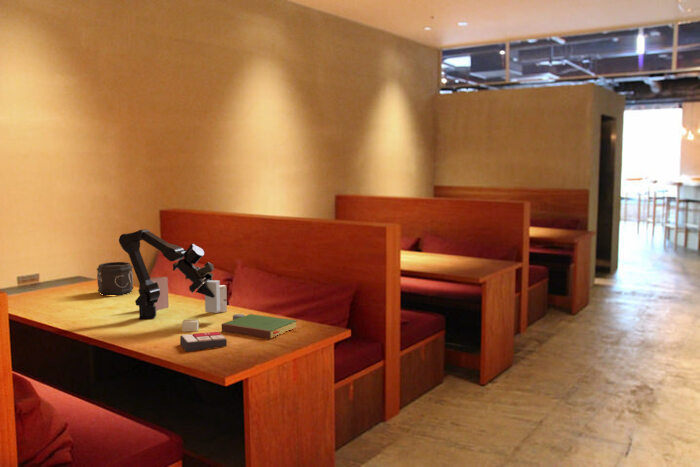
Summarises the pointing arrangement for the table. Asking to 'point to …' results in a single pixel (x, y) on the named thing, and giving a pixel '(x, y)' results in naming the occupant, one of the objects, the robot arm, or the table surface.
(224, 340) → the calculator
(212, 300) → the light grey block
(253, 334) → the hardcover book
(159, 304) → the greeting card
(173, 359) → the table surface
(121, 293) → the dark decorated pot
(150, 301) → the robot arm
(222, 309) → the skincare box
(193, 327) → the cream block
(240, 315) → the grey rounded dome
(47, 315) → the table surface
